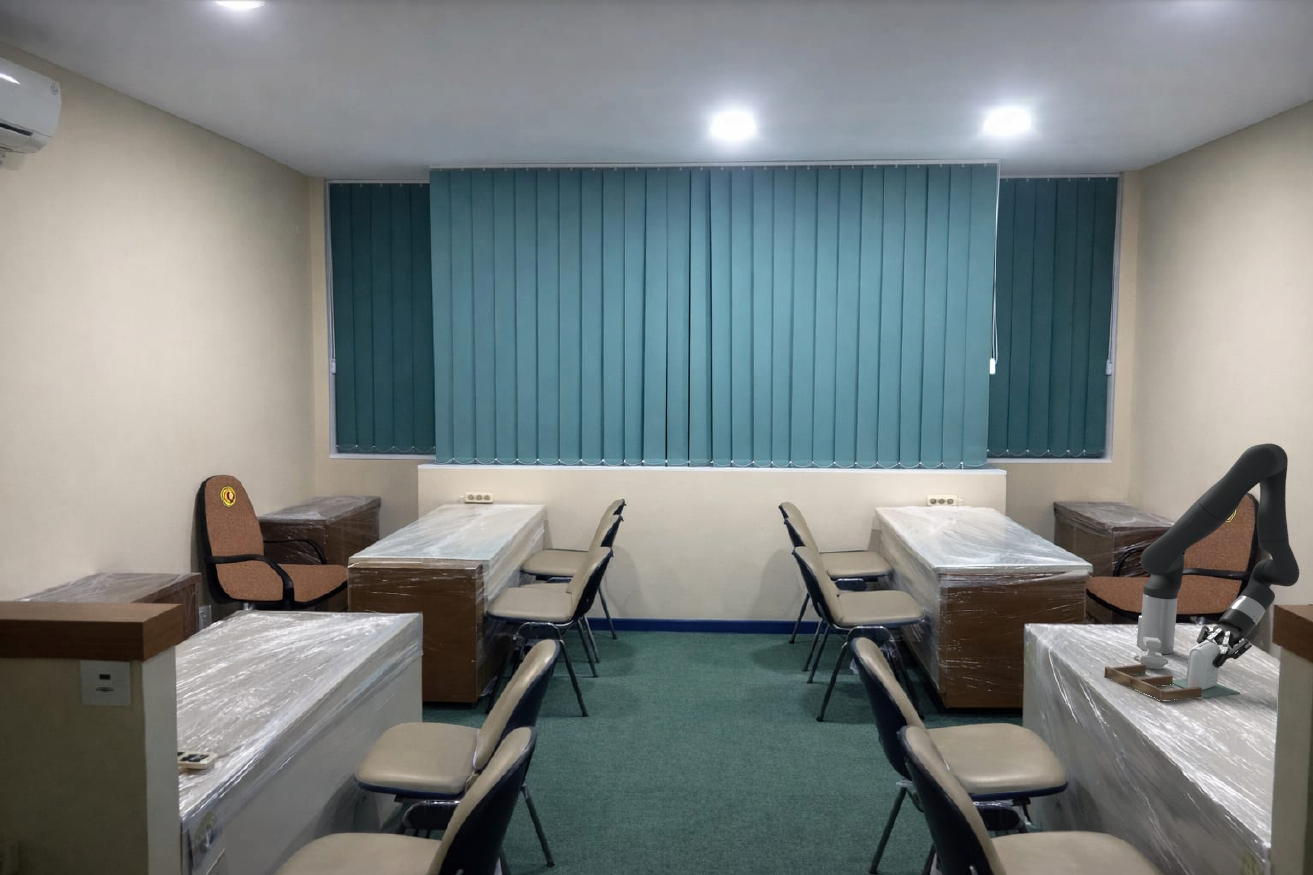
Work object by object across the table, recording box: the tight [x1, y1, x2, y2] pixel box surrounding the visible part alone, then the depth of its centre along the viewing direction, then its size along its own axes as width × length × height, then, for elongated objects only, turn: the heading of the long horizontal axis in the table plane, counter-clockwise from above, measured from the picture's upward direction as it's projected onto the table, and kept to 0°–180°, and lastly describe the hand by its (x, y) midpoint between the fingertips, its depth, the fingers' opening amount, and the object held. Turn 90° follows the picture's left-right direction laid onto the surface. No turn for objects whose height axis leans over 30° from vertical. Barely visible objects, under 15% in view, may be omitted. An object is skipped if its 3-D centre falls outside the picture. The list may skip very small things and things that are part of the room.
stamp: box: [1133, 637, 1169, 671], centre depth 260 cm, size 9×7×8 cm
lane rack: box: [1104, 663, 1202, 701], centre depth 244 cm, size 19×14×3 cm
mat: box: [1172, 678, 1241, 699], centre depth 244 cm, size 12×12×1 cm
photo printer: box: [1185, 642, 1222, 690], centre depth 243 cm, size 10×4×12 cm, turn 121°
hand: (1206, 662), depth 243 cm, fingers closed on photo printer, 5 cm apart
